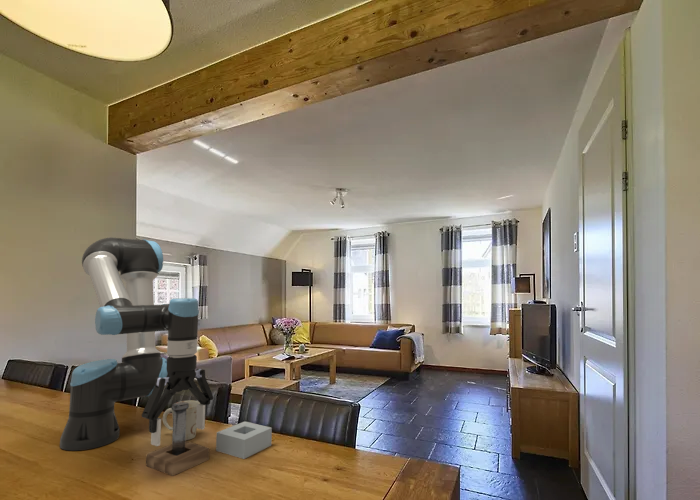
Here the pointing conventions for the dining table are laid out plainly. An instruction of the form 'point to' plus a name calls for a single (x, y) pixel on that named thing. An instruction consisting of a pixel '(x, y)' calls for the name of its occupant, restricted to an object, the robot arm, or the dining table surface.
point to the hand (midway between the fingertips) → (179, 436)
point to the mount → (177, 458)
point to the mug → (189, 419)
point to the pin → (179, 427)
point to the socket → (243, 439)
